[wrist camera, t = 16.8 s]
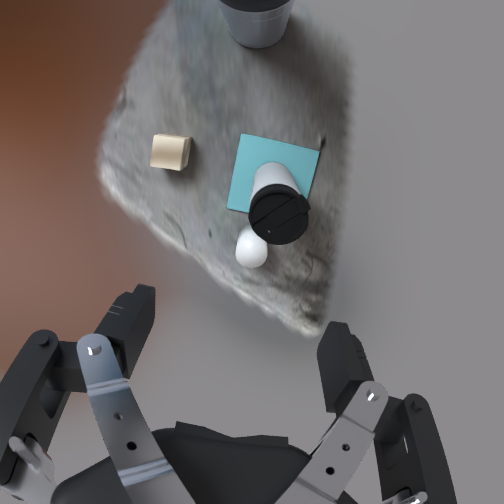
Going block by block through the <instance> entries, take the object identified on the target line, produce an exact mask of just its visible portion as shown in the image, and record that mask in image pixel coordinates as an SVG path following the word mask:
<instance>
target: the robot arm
mask: <svg viewBox="0 0 504 504" xmlns="http://www.w3.org/2000/svg"><path fill="white" fill-rule="evenodd" d="M293 2H294V0H218V3H219V5H220V8H221V10H222V13H223V15H224V18H225V20H226V23H227V26H228V28H229V31H230V33H231V35H232V37H233V38H234V39H235V40H236V41H237V42H238V43H240V44H241V45H244V46H246V47H250V48H265V47H269V46H271V45H273V44H275V43H276V42H278V41H279V40H280V39H281V38H282V36H283V35H284V33H285V29H286V26H287V23H288V19H289V16H290V12H291V9H292V6H293ZM154 318H155V287H152V286H147V285H143V284H138V285H137V287H136V288H135V290H134V291H133V293H129V292H125V293H123V294H122V295H120V296H119V297H118V298H117V299H116V300H115V302H114V303H113V305H112V306H111V308H110V309H109V311H108V312H107V314H106V315H105V317H104V318H103V320H102V321H101V323H100V324H99V326H98V327H97V329H96V330H95V332H94V333H93V334H88V335H85V336H83V337H82V338H81V339H80V340H79V341H78V342H66V341H59V340H58V337H57V335H56V334H55V333H54V332H52V331H50V330H39V331H36V332H34V333H33V334H32V335H31V336H30V337H29V338H28V340H27V341H26V343H25V344H24V346H23V347H22V349H21V350H20V352H19V353H18V355H17V357H16V358H15V360H14V361H13V363H12V364H11V366H10V368H9V369H8V371H7V372H6V374H5V376H4V377H3V379H2V381H1V383H0V490H2V491H3V492H5V493H7V494H9V495H11V496H13V497H14V498H16V499H18V500H25V501H27V502H29V503H31V504H358V503H357V502H356V501H355V500H354V499H353V498H352V497H351V496H350V495H349V494H347V493H346V492H345V491H344V489H345V487H346V485H347V484H348V482H349V481H350V479H351V478H352V476H353V474H354V473H355V471H356V469H357V468H358V466H359V464H360V462H361V461H362V459H363V457H364V455H365V453H366V451H367V450H368V448H369V446H370V444H371V442H372V440H374V446H375V452H376V458H377V464H378V471H379V478H380V485H381V493H382V501H383V502H382V503H381V504H457V501H456V496H455V492H454V487H453V483H452V479H451V475H450V471H449V467H448V464H447V460H446V456H445V453H444V449H443V446H442V443H441V440H440V436H439V433H438V430H437V427H436V424H435V421H434V418H433V415H432V412H431V409H430V407H429V404H428V402H427V401H426V400H425V399H424V398H423V397H422V396H420V395H418V394H414V393H413V394H409V395H407V397H405V399H404V400H401V399H398V398H394V397H390V396H388V393H387V391H386V390H385V388H384V387H383V386H382V385H381V384H379V383H377V382H375V381H374V378H373V375H372V372H371V369H370V366H369V363H368V361H367V359H366V355H365V353H364V349H363V346H362V344H361V342H360V341H359V339H358V338H357V337H356V336H355V335H352V334H351V333H350V331H349V328H348V325H347V323H341V322H335V321H331V322H330V323H329V324H328V326H327V328H326V330H325V333H324V335H323V337H322V339H321V341H320V343H319V345H318V349H317V360H318V365H319V370H320V376H321V382H322V387H323V393H324V399H325V405H326V411H327V412H330V413H336V418H335V419H334V421H333V422H332V424H331V425H330V426H329V428H328V429H327V430H326V432H325V433H324V435H323V436H322V437H321V439H320V440H319V441H318V443H317V444H316V445H315V446H314V448H313V449H312V450H311V451H310V452H309V454H307V453H306V452H304V451H303V450H301V449H299V448H297V447H294V446H292V445H289V444H288V437H280V436H267V435H257V436H248V437H237V438H232V437H229V436H226V435H224V434H221V433H218V432H216V431H213V430H210V429H208V428H206V427H202V426H197V425H192V424H187V423H183V422H178V421H177V422H176V426H175V428H165V429H159V430H155V431H152V432H151V431H150V429H149V428H148V425H147V423H146V421H145V419H144V417H143V415H142V413H141V411H140V409H139V407H138V405H137V402H136V400H135V398H134V396H133V394H132V391H131V389H130V387H129V384H128V382H127V381H125V380H124V378H127V379H130V377H131V374H132V372H133V369H134V367H135V365H136V363H137V360H138V358H139V356H140V353H141V351H142V348H143V346H144V344H145V342H146V340H147V337H148V335H149V333H150V331H151V328H152V326H153V323H154ZM71 391H72V392H84V393H88V396H89V400H90V403H91V406H92V409H93V412H94V415H95V418H96V421H97V423H98V426H99V429H100V432H101V434H102V437H103V440H104V442H105V444H106V447H107V450H108V452H109V454H110V456H109V457H107V458H105V459H103V460H102V461H100V462H98V463H96V464H95V465H93V466H91V467H89V468H87V469H85V470H84V471H82V472H80V473H78V474H76V475H74V476H72V477H70V478H68V479H66V480H64V481H63V482H61V483H60V484H59V485H58V486H57V485H56V484H55V481H54V477H53V474H54V464H53V461H52V459H51V457H50V456H49V455H48V454H47V451H48V447H49V445H50V442H51V440H52V437H53V434H54V432H55V429H56V426H57V424H58V422H59V419H60V417H61V414H62V412H63V410H64V407H65V405H66V402H67V400H68V398H69V396H70V393H71ZM404 437H405V439H406V443H407V448H408V453H407V451H406V447H405V442H404Z"/></svg>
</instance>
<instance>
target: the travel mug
mask: <svg viewBox="0 0 504 504" xmlns="http://www.w3.org/2000/svg"><path fill="white" fill-rule="evenodd" d="M310 209H311V208H310V205H309V203H308V201H307V200H306V198H305V197H304V196H303V195H302V194H300V192H299V190H298V188H297V186H296V184H295V181H294V179H293V177H292V175H291V173H290V171H289V170H288V169H287V167H286V166H284V165H283V164H281V163H278V162H267V163H264V164H263V165H261V166H260V167H259V168H258V169H257V170H256V172H255V175H254V180H253V186H252V192H251V198H250V205H249V216H248V219H249V222H250V225H251V228H252V230H253V231H254V233H255V234H256V235H257V236H258V237H261V239H262V240H264V241H266V242H267V243H270V244H275V245H284V244H288V243H291V242H293V241H295V240H297V239H298V238H299V237H300V236H301V235H302V234H303V233H304V231H305V230H306V227H307V225H308V210H310Z"/></svg>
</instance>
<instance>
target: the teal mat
mask: <svg viewBox="0 0 504 504" xmlns="http://www.w3.org/2000/svg"><path fill="white" fill-rule="evenodd" d="M318 156H319V151H316V150H312V149H308V148H304V147H300V146H296V145H292V144H288V143H284V142H280V141H275V140H271V139H266V138H262V137H257V136H252V135H247V134H241V138H240V143H239V148H238V152H237V157H236V162H235V167H234V172H233V177H232V182H231V188H230V193H229V198H228V203H227V208H229V209H234V210H239V211H243V212H248V213H249V205H250V198H251V192H252V186H253V180H254V175H255V172H256V170H257V169H258V168H259V167H260V166H261V165H263V164H264V163H267V162H278V163H281V164H283V165H284V166H286V167H287V169H288V170H289V171H290V173H291V175H292V177H293V179H294V181H295V184H296V186H297V188H298V190H299V192H300V194H302V195H303V196H304V197H305V198H306V200H307V197H308V194H309V190H310V186H311V183H312V179H313V175H314V171H315V168H316V164H317V160H318Z"/></svg>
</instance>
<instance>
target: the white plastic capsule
mask: <svg viewBox="0 0 504 504" xmlns="http://www.w3.org/2000/svg"><path fill="white" fill-rule="evenodd" d="M236 258H237V260H238V262H239V263H240V264H241V265H243V266H245V267H248V268H255V267H259V266H260V265H262V264H263V263H264V262H265V261H266V258H267V242H266V241H264V240H262V239H261V237H258V236H257V235H256V234H255V233H254V231H253V230H252V228H251V225H250V224H247V225H245V226H244V227H243V228H242V229H241V230H240V232H239V237H238V242H237V247H236Z"/></svg>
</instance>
